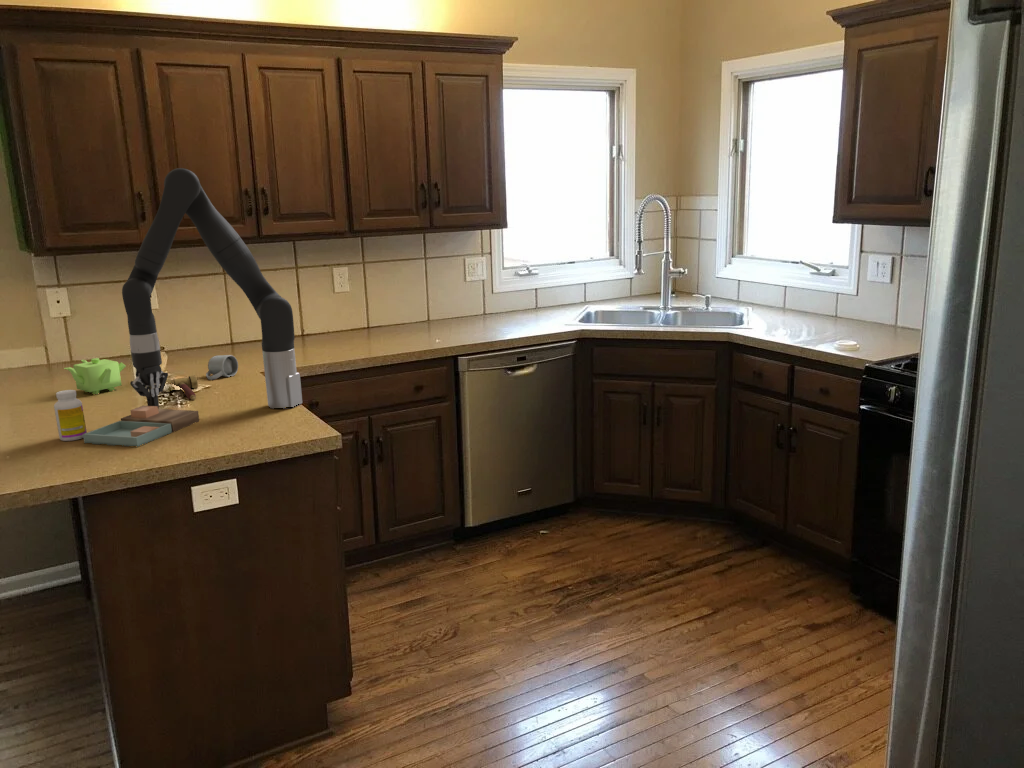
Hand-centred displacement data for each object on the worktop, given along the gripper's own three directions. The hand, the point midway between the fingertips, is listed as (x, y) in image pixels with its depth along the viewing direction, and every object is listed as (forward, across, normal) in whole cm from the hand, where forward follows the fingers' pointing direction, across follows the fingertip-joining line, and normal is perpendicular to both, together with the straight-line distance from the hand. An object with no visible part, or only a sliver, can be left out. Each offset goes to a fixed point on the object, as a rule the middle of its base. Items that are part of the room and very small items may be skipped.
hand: (153, 408), depth 232 cm
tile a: (+1, -15, -9) cm, 17 cm away
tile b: (+1, -4, 0) cm, 4 cm away
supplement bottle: (+4, -18, +11) cm, 22 cm away
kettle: (+4, +28, +48) cm, 55 cm away
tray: (+4, -15, -4) cm, 16 cm away
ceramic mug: (+4, +55, +18) cm, 58 cm away
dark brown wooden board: (+4, -3, -4) cm, 6 cm away
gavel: (+4, +30, +13) cm, 33 cm away
